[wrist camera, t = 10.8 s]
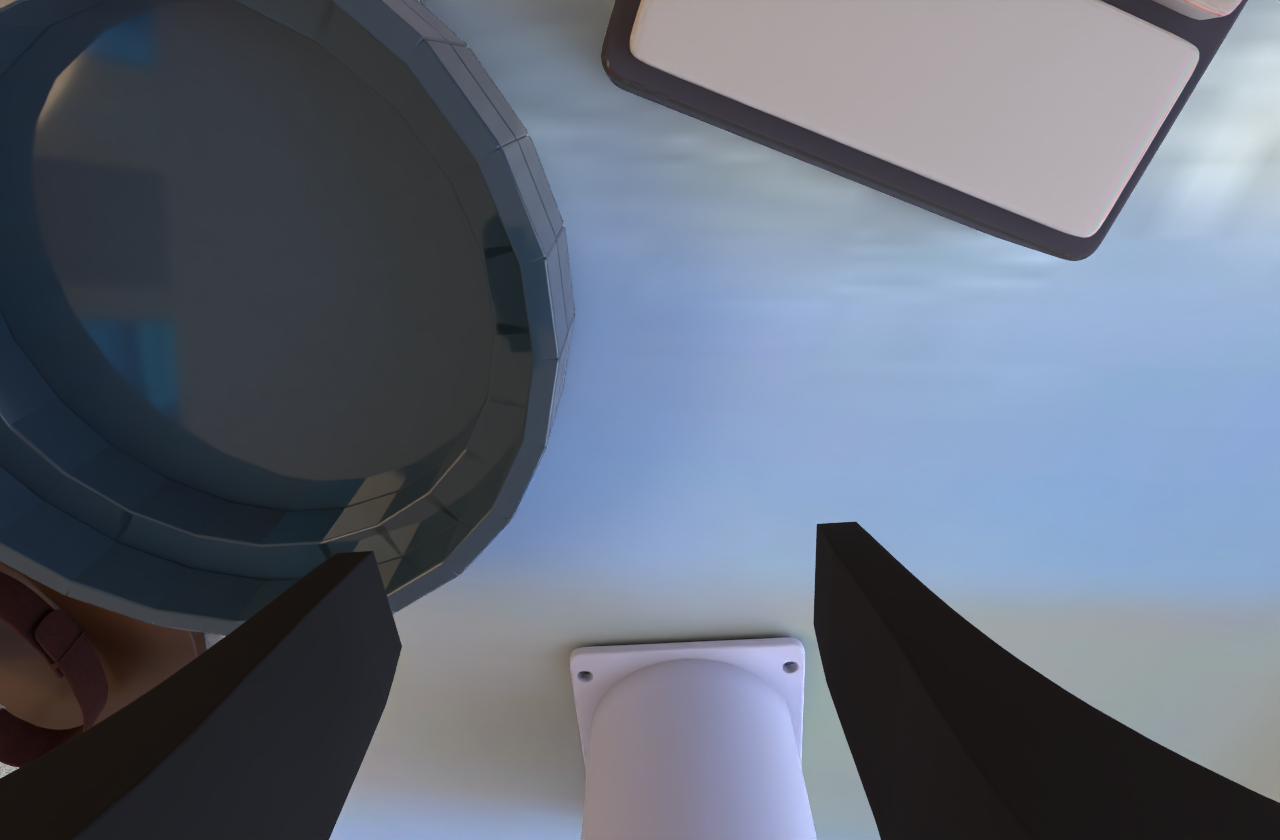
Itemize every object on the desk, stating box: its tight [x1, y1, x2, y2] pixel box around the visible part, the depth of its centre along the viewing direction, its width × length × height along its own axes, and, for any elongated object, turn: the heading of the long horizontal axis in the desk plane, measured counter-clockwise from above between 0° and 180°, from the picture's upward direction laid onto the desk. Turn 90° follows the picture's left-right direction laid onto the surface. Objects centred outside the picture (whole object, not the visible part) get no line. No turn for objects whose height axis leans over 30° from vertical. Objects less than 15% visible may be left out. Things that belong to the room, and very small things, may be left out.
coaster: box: [0, 561, 206, 730], centre depth 24 cm, size 11×11×1 cm
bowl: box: [0, 0, 575, 636], centre depth 17 cm, size 17×17×4 cm
